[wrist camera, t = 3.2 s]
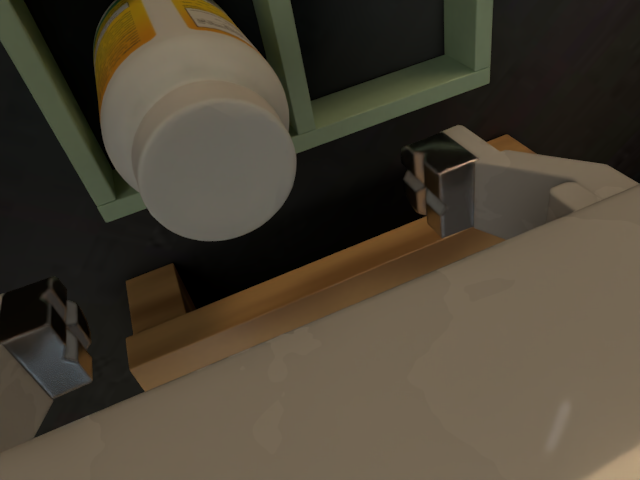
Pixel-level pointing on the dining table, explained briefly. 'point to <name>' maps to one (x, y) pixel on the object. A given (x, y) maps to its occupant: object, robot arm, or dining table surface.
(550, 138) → the dining table surface
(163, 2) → the supplement bottle
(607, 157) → the dining table surface
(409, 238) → the windowsill ledge
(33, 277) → the dining table surface
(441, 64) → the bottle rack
